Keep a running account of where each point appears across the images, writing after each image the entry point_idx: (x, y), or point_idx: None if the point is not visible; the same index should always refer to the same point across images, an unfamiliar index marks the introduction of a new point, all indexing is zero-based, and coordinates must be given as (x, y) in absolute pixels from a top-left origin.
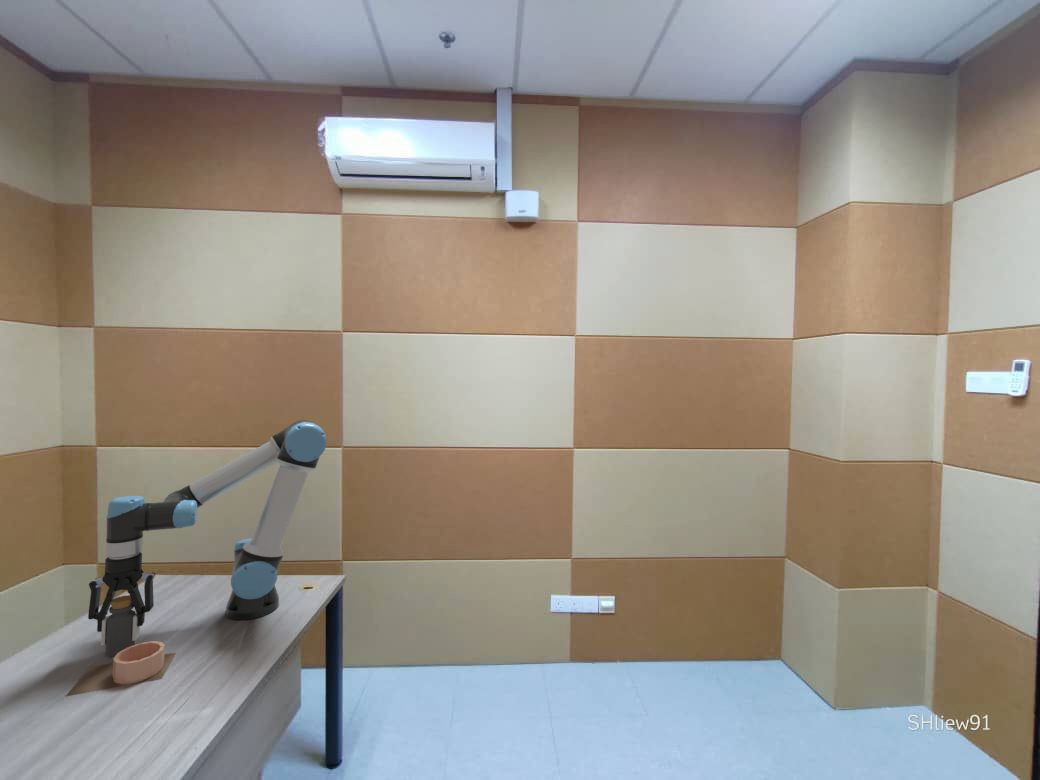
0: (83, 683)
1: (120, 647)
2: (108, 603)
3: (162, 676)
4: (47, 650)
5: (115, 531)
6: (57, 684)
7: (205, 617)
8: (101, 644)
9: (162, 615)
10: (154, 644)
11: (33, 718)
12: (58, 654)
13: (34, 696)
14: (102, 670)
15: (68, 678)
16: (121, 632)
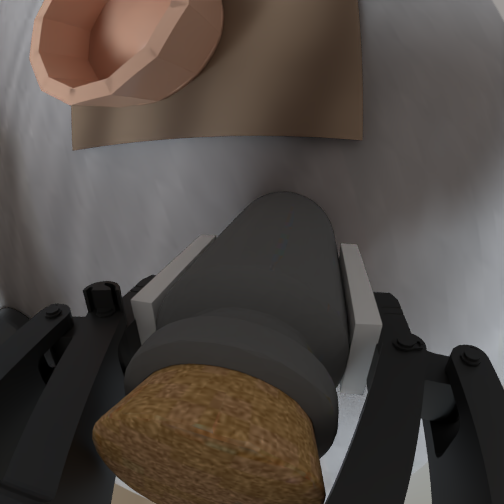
0: (328, 4)
1: (260, 205)
2: (345, 471)
3: None
4: (498, 361)
5: None
6: (436, 81)
7: None
8: (355, 246)
9: None
10: (64, 82)
11: None
12: (480, 328)
13: (468, 35)
14: (294, 78)
15: (418, 110)
16: (239, 230)
